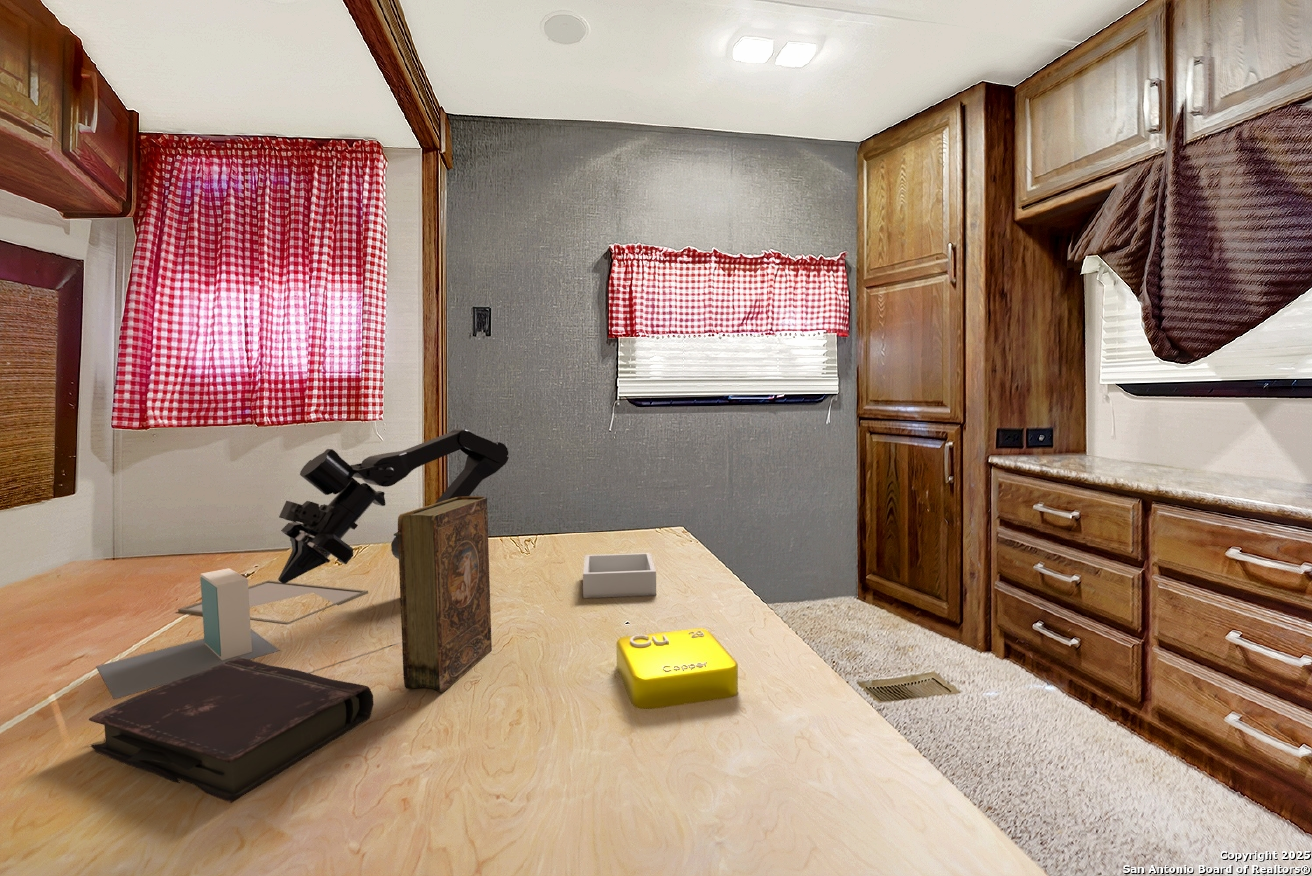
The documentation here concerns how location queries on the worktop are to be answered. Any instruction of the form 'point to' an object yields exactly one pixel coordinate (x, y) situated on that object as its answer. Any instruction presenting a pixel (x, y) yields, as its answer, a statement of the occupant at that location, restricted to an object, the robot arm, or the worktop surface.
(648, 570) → the dish
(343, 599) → the picture frame
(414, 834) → the worktop surface
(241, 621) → the white rectangular block
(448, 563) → the book
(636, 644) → the element tile
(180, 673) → the mat
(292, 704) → the diary
